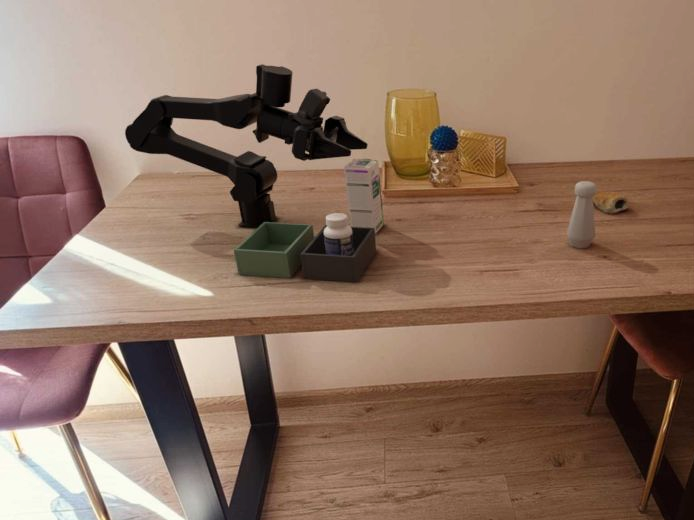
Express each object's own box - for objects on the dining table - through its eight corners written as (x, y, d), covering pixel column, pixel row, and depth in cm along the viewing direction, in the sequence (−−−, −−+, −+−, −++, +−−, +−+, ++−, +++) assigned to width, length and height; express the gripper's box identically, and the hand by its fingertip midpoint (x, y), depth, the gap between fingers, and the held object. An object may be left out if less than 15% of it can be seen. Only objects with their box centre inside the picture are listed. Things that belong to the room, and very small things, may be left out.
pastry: (584, 202, 154) (585, 187, 152) (606, 198, 157) (608, 183, 155) (609, 215, 147) (611, 199, 145) (631, 210, 150) (634, 194, 148)
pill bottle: (346, 272, 121) (340, 223, 116) (322, 267, 123) (315, 219, 118) (360, 261, 126) (356, 213, 120) (337, 256, 127) (331, 209, 122)
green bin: (238, 274, 121) (233, 249, 118) (268, 244, 132) (264, 221, 130) (290, 277, 119) (286, 253, 117) (315, 247, 131) (312, 224, 129)
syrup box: (376, 234, 137) (370, 167, 129) (349, 232, 138) (343, 165, 130) (384, 224, 142) (379, 159, 134) (358, 222, 143) (352, 157, 135)
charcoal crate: (303, 278, 119) (300, 254, 116) (327, 248, 131) (325, 225, 128) (356, 282, 118) (354, 257, 115) (376, 251, 130) (374, 227, 127)
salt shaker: (596, 241, 134) (603, 180, 127) (591, 251, 130) (599, 189, 123) (568, 237, 136) (574, 177, 129) (563, 247, 131) (569, 185, 124)
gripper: (269, 87, 117) (348, 113, 116) (312, 81, 133) (382, 104, 132) (262, 148, 122) (338, 173, 121) (304, 135, 139) (371, 157, 138)
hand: (359, 149), depth 128 cm, fingers open, 9 cm apart
